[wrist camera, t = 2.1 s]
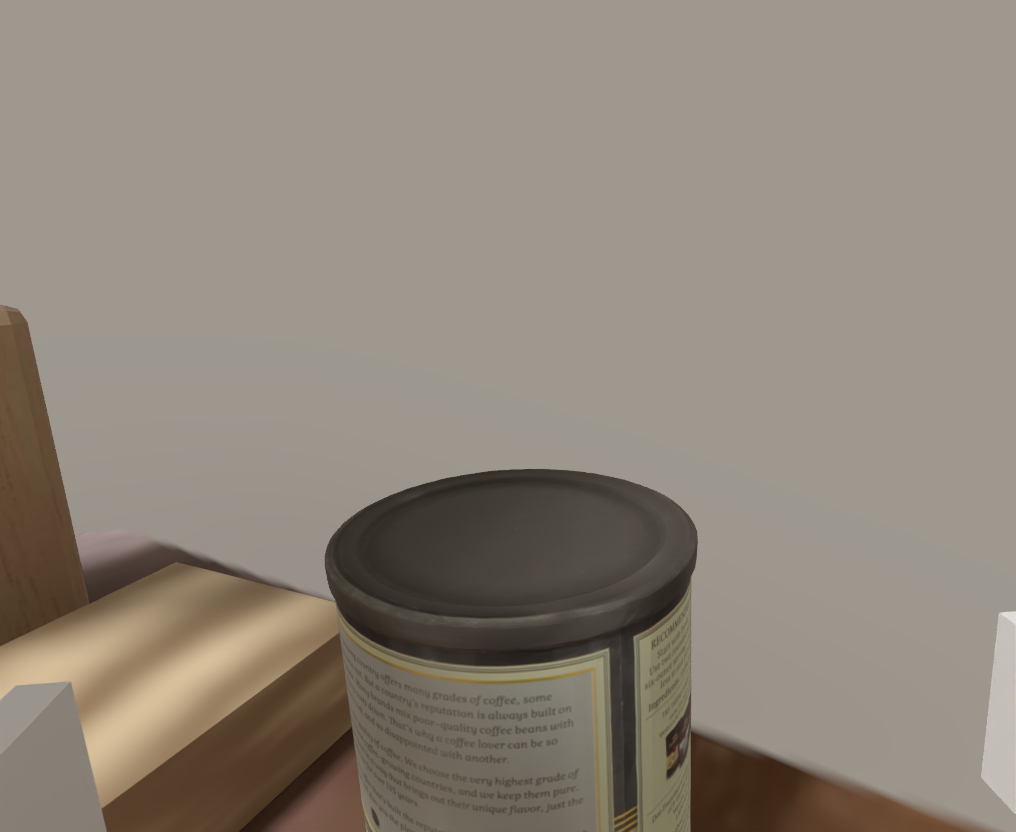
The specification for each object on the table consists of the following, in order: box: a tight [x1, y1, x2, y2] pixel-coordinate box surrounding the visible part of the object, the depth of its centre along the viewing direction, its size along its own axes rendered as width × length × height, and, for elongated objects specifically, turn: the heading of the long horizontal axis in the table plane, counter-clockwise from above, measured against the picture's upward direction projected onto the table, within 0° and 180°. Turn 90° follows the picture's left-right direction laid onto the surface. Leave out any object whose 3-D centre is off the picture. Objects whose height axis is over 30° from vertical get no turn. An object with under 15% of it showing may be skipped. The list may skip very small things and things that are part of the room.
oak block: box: [0, 562, 352, 832], centre depth 32 cm, size 14×14×5 cm
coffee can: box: [325, 469, 698, 832], centre depth 22 cm, size 10×10×14 cm
